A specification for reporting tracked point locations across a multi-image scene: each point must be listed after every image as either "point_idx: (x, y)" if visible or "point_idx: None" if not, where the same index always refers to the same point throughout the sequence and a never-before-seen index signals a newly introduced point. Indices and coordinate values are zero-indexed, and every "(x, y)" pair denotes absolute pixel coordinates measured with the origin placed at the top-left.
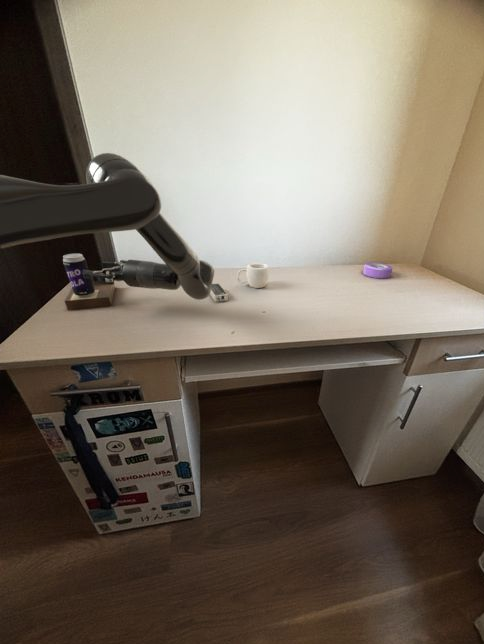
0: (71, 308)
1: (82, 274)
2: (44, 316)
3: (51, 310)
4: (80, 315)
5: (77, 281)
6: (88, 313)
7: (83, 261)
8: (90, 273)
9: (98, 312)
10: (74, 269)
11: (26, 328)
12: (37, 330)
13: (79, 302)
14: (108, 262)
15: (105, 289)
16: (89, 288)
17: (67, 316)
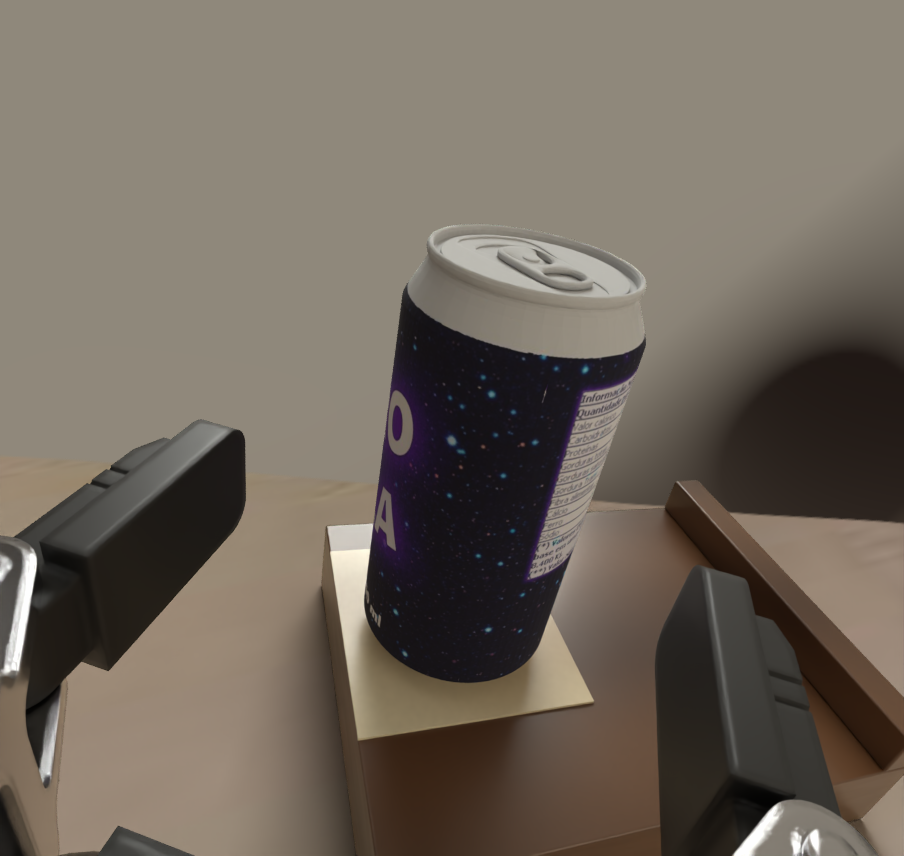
0: (323, 596)
1: (416, 476)
2: (247, 499)
3: (337, 508)
4: (183, 690)
5: (379, 492)
6: (208, 745)
7: (507, 366)
8: (51, 521)
9: (202, 841)
10: (396, 379)
11: (91, 470)
12: (20, 515)
13: (335, 620)
14: (730, 664)
15: (622, 767)
16: (414, 626)
17: (199, 608)
